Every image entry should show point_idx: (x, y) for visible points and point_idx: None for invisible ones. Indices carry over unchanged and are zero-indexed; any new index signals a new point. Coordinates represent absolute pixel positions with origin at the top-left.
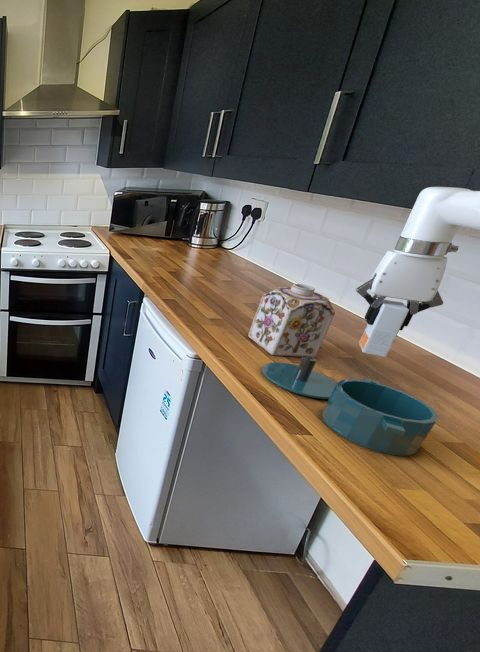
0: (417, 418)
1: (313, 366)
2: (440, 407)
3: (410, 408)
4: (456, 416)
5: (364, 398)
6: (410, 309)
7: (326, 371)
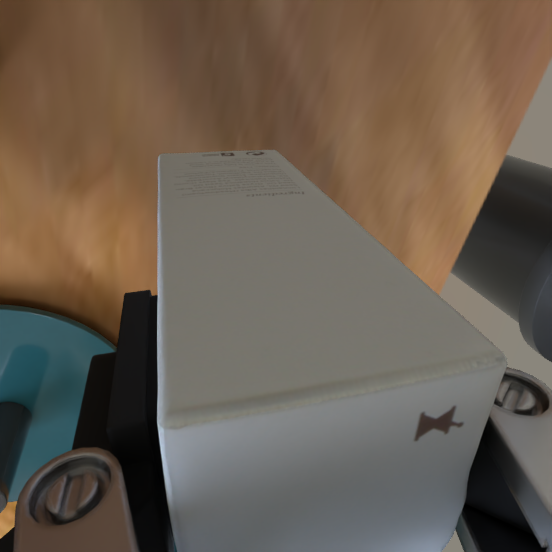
0: None
1: (13, 480)
2: (403, 249)
3: None
4: None
5: None
6: (463, 532)
7: (81, 222)
